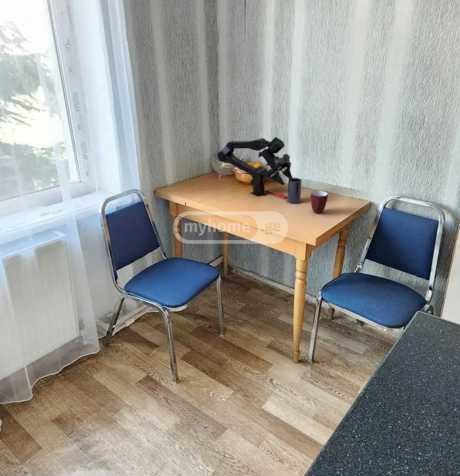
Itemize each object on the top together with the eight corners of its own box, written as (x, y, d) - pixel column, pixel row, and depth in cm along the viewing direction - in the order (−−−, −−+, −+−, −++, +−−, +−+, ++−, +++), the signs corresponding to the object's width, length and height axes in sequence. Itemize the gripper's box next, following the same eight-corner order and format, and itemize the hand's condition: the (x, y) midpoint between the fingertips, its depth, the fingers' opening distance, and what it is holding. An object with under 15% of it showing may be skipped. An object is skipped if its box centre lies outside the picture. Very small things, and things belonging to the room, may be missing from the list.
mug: (326, 217, 191) (328, 198, 187) (309, 216, 193) (311, 197, 188) (325, 209, 201) (327, 191, 197) (309, 208, 202) (310, 190, 198)
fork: (264, 191, 227) (264, 190, 227) (268, 190, 229) (268, 188, 228) (283, 198, 215) (284, 197, 215) (287, 197, 217) (288, 196, 217)
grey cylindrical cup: (285, 202, 211) (286, 180, 206) (289, 198, 216) (291, 177, 211) (297, 204, 208) (298, 182, 203) (301, 200, 213) (303, 179, 208)
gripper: (271, 153, 199) (289, 178, 197) (289, 146, 212) (306, 169, 211) (258, 166, 206) (275, 190, 205) (275, 158, 220) (292, 180, 219)
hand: (288, 182), depth 210 cm, fingers open, 9 cm apart
